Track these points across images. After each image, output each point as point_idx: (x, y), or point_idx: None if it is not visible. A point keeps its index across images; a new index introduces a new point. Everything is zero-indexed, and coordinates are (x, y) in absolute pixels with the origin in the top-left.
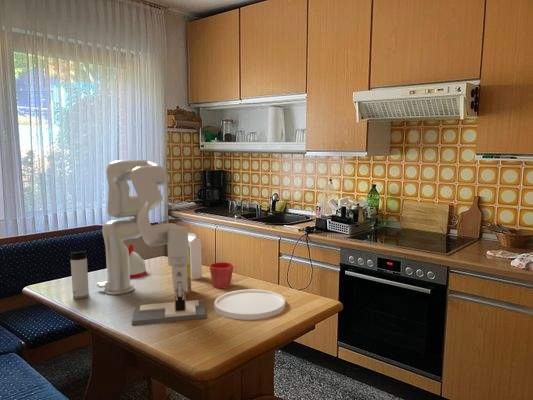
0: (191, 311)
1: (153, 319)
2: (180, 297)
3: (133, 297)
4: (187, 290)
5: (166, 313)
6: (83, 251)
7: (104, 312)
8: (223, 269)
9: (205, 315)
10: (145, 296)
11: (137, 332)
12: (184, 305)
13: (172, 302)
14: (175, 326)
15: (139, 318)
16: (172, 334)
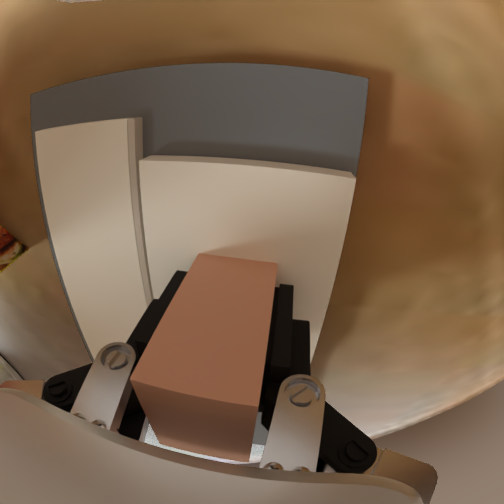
0: (325, 219)
1: None
2: (377, 453)
3: (30, 366)
4: (396, 501)
5: None
6: None
7: (147, 443)
8: None
9: (365, 82)
10: (13, 338)
11: (363, 423)
12: (291, 314)
13: (72, 304)
14: (403, 313)
15: (263, 433)
16: (476, 329)
